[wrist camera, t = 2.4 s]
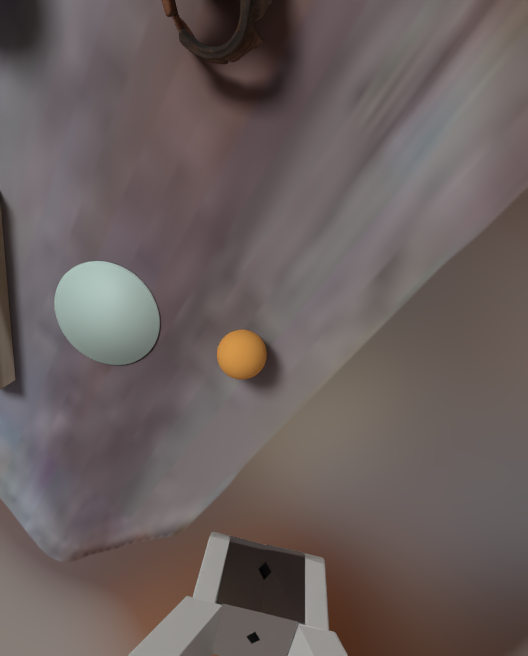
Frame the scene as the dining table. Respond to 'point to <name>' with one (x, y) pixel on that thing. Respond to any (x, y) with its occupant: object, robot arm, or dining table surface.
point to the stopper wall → (5, 322)
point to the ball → (241, 354)
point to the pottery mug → (241, 42)
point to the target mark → (107, 313)
